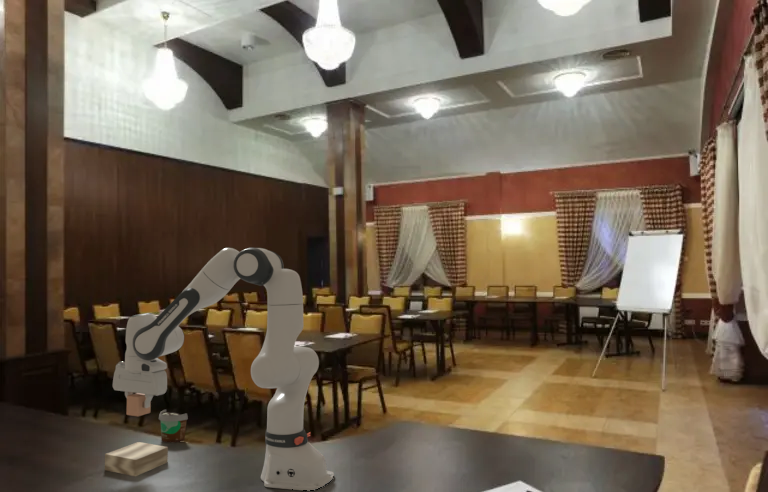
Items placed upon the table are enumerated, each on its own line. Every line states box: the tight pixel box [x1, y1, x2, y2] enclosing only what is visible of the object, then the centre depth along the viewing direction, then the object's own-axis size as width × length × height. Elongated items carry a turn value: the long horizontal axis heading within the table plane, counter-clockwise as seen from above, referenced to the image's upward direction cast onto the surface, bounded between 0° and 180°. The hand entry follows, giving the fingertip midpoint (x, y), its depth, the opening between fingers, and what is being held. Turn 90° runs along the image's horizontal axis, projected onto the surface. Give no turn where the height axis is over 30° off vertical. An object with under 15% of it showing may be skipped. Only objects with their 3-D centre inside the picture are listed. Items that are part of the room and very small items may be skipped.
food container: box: [158, 409, 189, 443], centre depth 198 cm, size 12×6×10 cm, turn 62°
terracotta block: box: [125, 393, 152, 417], centre depth 173 cm, size 5×5×6 cm
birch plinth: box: [104, 441, 169, 477], centre depth 172 cm, size 13×13×5 cm
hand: (138, 406), depth 173 cm, fingers closed on terracotta block, 5 cm apart
